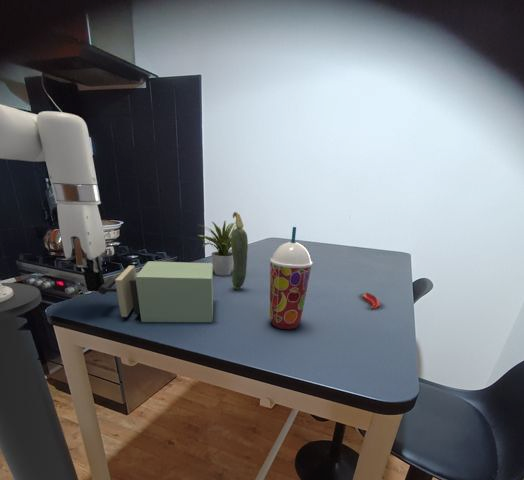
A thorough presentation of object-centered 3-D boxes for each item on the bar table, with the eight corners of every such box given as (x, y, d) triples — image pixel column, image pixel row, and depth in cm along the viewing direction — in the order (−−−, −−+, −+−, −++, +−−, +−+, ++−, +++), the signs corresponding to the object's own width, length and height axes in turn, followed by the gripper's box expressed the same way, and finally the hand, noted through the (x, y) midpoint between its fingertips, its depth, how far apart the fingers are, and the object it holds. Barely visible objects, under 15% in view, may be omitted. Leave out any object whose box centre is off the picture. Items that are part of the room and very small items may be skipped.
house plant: (213, 264, 111) (212, 214, 103) (250, 270, 107) (252, 218, 100) (193, 274, 99) (190, 218, 91) (233, 280, 95) (234, 223, 88)
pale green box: (141, 322, 66) (135, 276, 61) (152, 301, 77) (147, 261, 72) (212, 322, 68) (211, 278, 63) (213, 301, 79) (212, 263, 74)
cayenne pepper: (380, 310, 80) (381, 303, 79) (361, 307, 81) (362, 300, 80) (379, 296, 90) (381, 289, 89) (362, 294, 91) (364, 287, 91)
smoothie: (276, 313, 74) (283, 222, 65) (309, 322, 71) (322, 227, 61) (258, 325, 68) (264, 226, 58) (294, 335, 64) (307, 232, 55)
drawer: (99, 316, 65) (91, 279, 61) (114, 297, 75) (109, 264, 71) (187, 317, 67) (185, 281, 63) (191, 299, 77) (190, 267, 73)
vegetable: (248, 289, 89) (251, 212, 79) (241, 293, 86) (243, 213, 76) (235, 286, 91) (236, 210, 81) (227, 290, 87) (227, 211, 77)
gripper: (71, 191, 65) (90, 279, 74) (34, 196, 52) (62, 302, 61) (110, 193, 66) (124, 280, 75) (83, 198, 53) (104, 302, 62)
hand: (96, 289), depth 68 cm, fingers closed
